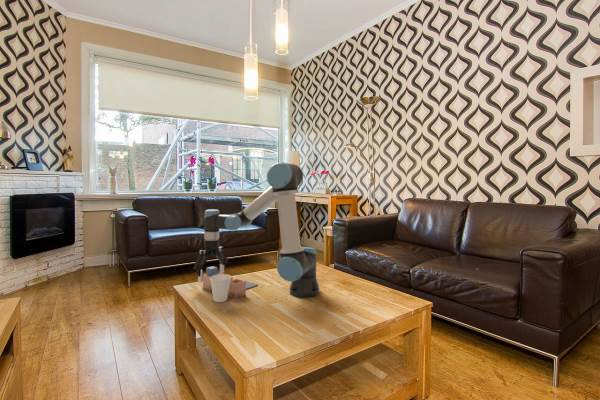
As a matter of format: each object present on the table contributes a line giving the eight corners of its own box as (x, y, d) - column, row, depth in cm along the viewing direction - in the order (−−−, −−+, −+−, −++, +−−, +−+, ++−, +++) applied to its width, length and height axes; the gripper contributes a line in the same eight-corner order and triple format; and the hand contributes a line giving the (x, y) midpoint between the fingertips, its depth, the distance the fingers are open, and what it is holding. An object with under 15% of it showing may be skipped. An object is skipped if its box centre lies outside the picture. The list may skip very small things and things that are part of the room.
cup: (225, 305, 143) (225, 281, 143) (205, 303, 145) (205, 279, 145) (234, 297, 153) (234, 274, 152) (215, 295, 155) (215, 273, 154)
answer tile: (245, 281, 177) (245, 280, 177) (258, 285, 171) (258, 284, 171) (231, 286, 169) (231, 285, 169) (244, 290, 163) (244, 289, 163)
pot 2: (236, 292, 160) (236, 278, 160) (245, 295, 156) (245, 281, 156) (226, 295, 155) (226, 281, 155) (235, 298, 151) (235, 284, 151)
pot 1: (213, 284, 172) (213, 271, 171) (220, 287, 168) (220, 274, 167) (202, 287, 167) (202, 274, 166) (210, 290, 163) (210, 276, 162)
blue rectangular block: (212, 281, 170) (212, 266, 169) (217, 282, 167) (217, 267, 167) (206, 282, 167) (206, 267, 166) (211, 284, 164) (211, 269, 164)
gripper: (226, 235, 178) (225, 272, 179) (186, 241, 158) (185, 283, 160) (235, 237, 173) (234, 275, 175) (195, 243, 154) (194, 286, 155)
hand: (211, 279), depth 167 cm, fingers open, 13 cm apart
